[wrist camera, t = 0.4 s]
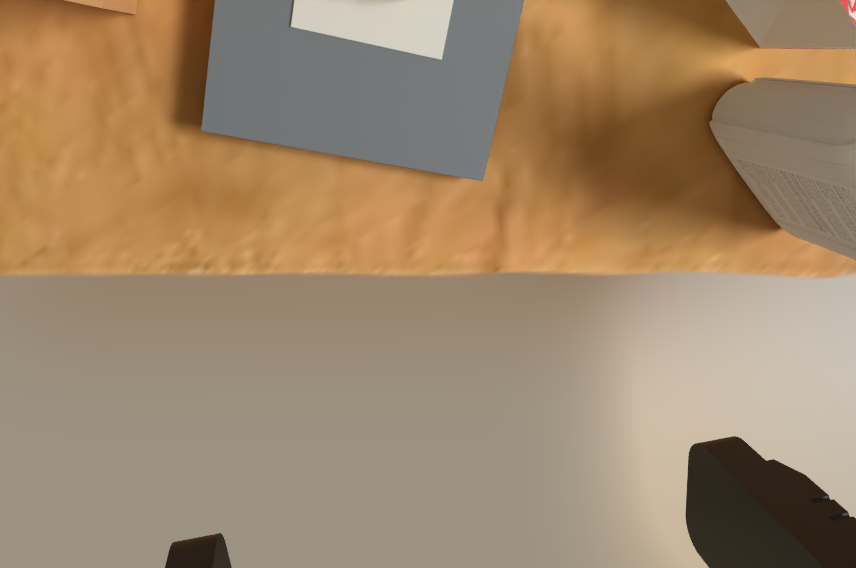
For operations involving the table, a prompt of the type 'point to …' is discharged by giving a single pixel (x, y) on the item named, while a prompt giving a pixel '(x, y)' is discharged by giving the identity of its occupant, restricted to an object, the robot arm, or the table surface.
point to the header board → (364, 77)
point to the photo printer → (796, 154)
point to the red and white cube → (799, 23)
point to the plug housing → (111, 5)
